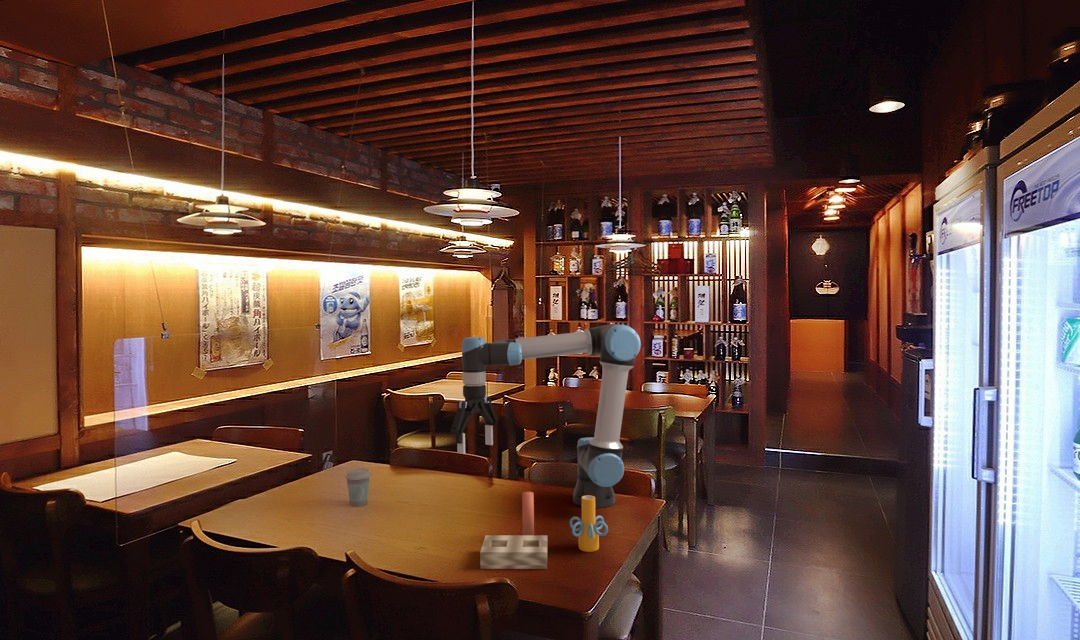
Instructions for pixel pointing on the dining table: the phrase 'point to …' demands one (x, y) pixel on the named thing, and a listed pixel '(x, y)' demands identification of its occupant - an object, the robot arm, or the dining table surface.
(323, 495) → the dining table surface
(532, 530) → the dowel
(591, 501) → the cylinder
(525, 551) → the socket block
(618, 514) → the dining table surface
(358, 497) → the coffee cup
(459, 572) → the dining table surface
